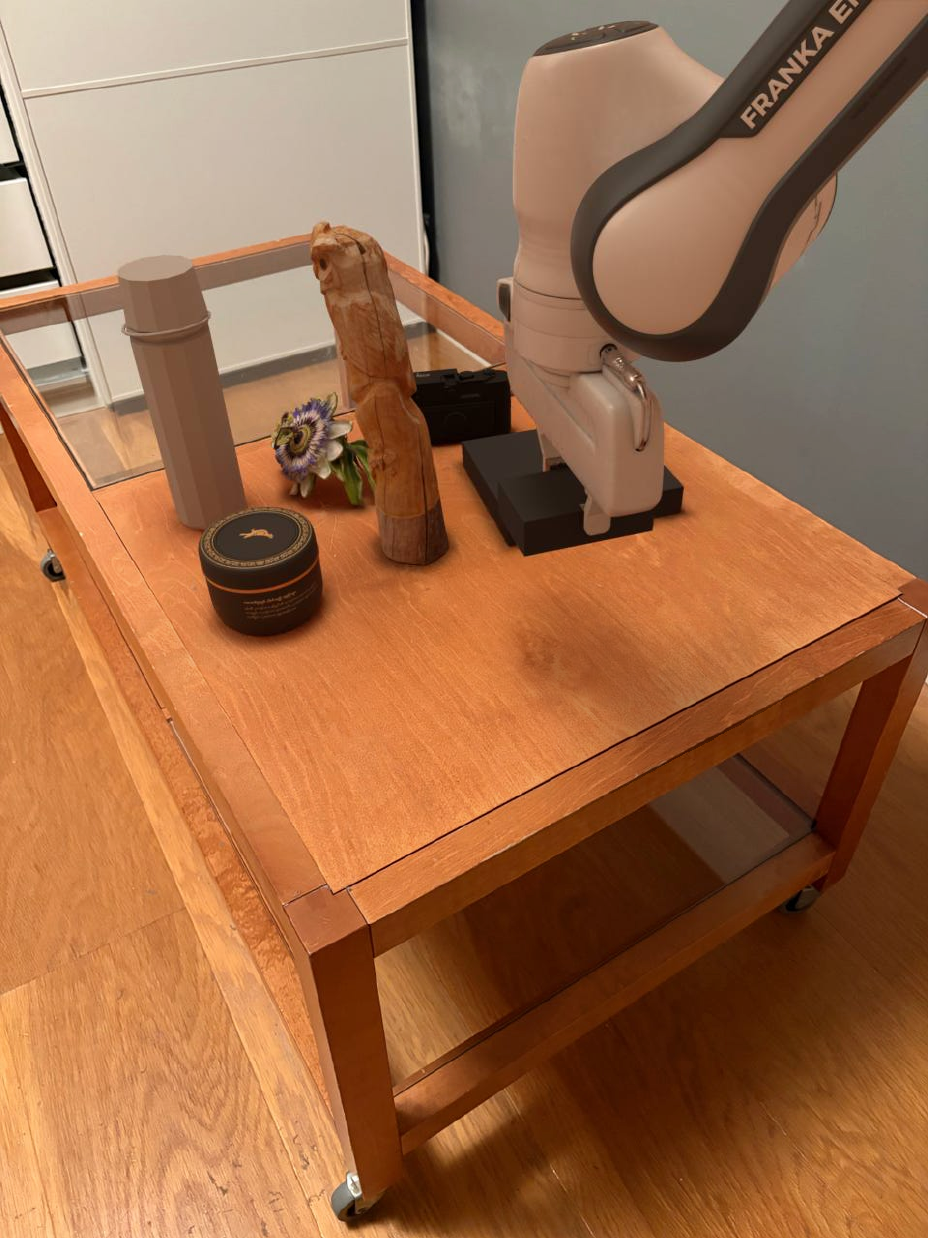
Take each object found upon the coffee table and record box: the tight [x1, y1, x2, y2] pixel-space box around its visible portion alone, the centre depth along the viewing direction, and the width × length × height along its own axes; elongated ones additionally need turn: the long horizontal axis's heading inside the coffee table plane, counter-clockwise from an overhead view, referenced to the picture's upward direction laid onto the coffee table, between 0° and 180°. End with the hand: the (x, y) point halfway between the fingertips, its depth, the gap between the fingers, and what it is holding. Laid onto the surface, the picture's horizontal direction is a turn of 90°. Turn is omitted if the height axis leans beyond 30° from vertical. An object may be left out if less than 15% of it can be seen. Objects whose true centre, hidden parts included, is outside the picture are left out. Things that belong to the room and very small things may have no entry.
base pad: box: [461, 428, 685, 547], centre depth 97 cm, size 18×16×3 cm
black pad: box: [498, 467, 655, 558], centre depth 70 cm, size 10×6×3 cm, turn 106°
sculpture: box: [309, 220, 450, 566], centre depth 81 cm, size 7×9×30 cm
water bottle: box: [116, 254, 248, 531], centre depth 89 cm, size 9×8×25 cm
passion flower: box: [270, 391, 376, 508], centre depth 98 cm, size 11×11×12 cm
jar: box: [197, 506, 324, 638], centre depth 82 cm, size 10×10×8 cm
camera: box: [411, 367, 515, 447], centre depth 106 cm, size 14×7×8 cm, turn 98°
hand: (574, 502), depth 70 cm, fingers closed on black pad, 6 cm apart
